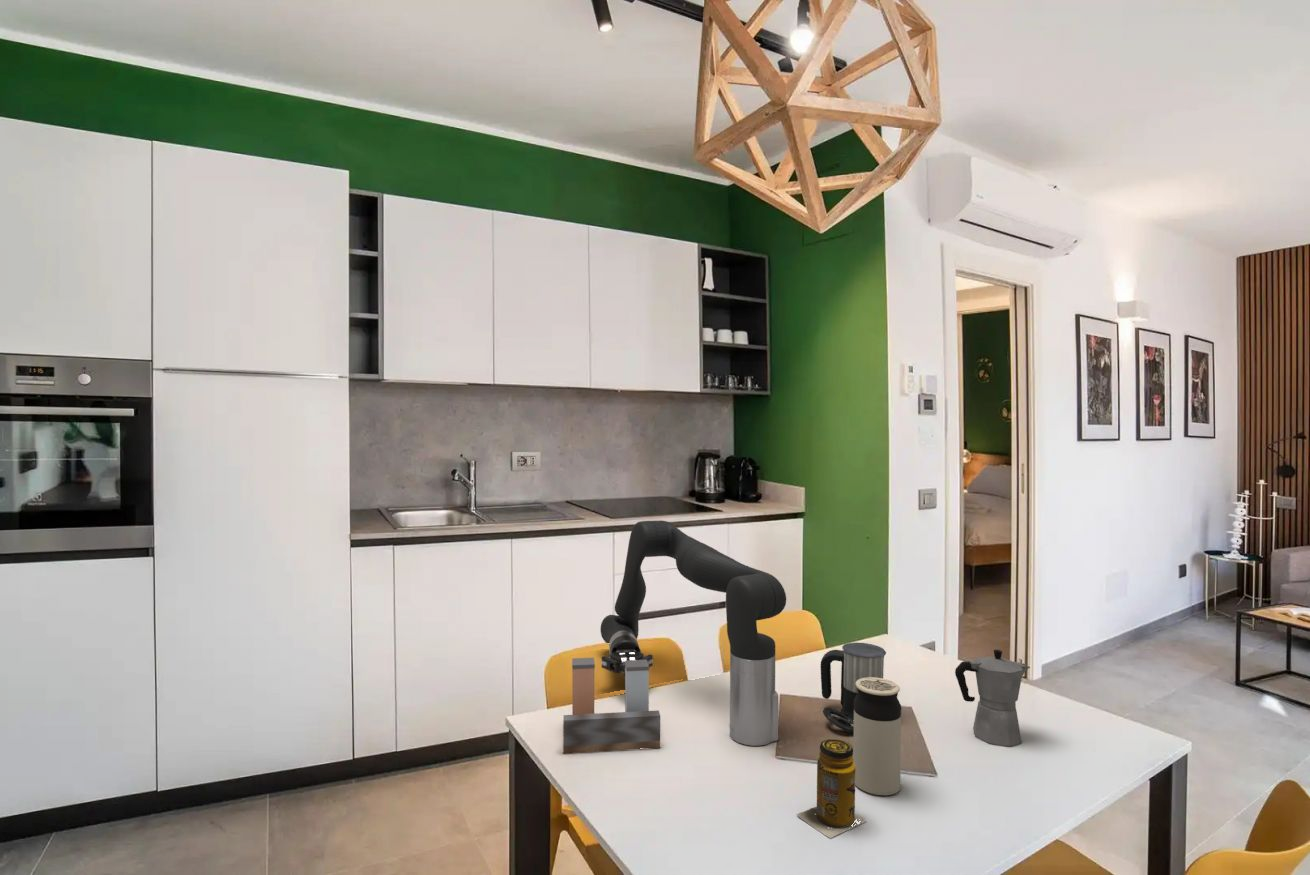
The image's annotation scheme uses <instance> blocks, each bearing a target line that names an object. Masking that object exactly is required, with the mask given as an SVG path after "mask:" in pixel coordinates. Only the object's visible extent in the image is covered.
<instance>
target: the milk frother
mask: <svg viewBox="0 0 1310 875" xmlns="http://www.w3.org/2000/svg"><path fill="white" fill-rule="evenodd" d="M886 654H887V651H886V650H885V649H884V647H881V646H879V645H876V644H872V643H865V642H848V643H844V644H843V645H842V650H840V649H832V650H828V651H827V652H826V653H824V655H823V656H822V658H821V660H820V681H821V682H820V683H821V696H822V698H823V699H826V700H828V699H829V698H830V697H831V696H832V693H833V692H832V670H831V669H832V665H831V664H832V662H841V668H840V669H841V671H840V672H841V674H840V676H841V677H840V706H841V709H840V710H838V709H835V708H832V707H824V708H823V710H822V714H823V715H824V717H825V718H826V719H827V720H828V722H830V723H831V724H832V725H833V726H835V727H836V728H838V729H841V730H843V733H846V732H848V733H854V721H853V720H854V699H855V697H856V695H857V694H858V689H857V687H856V684H855V683H856V681H857V680H859V679H861V678H866V677H876V678H883V679H884V669H885V668H884V666H885V664H884V663H885V656H886Z"/></svg>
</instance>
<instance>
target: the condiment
mask: <svg viewBox="0 0 1310 875" xmlns="http://www.w3.org/2000/svg"><path fill="white" fill-rule="evenodd" d="M853 751H854V747H853V746H852V745H851V744H850V742H847V741H845V740H841V739H838V738H828V739H824V740H822V741H821V742H820V744H819V757H818V759H817V762H816V764H817V765H816V768H817V769H816V806H814V807H811V808H808V809H806V810H804V811H801V812H799V813H797V814H796V816H798V817H799V818H800V819H801V820H803V822H805V823H806V824H808V825H809V826H811V827H812V828H814V830H817V831H818V832H820V833H821V834H822V835H825V836H826V837H827V838H829V839H832V838H834V837H836V836H838V835H840V834H843V833H844V832H847V831H849V830H852V829H853V828H855V826H856V827H857V825H858V824H857V823H856V822H855V823H854V821H855V820H856V819H857V821H858V822H859V821H861V822H860V823H862V822H863V823H862V824H864V823H866V821H867V820H866V819H865V818H862V816H859V815H857V814H855V811H856V785H855V764H854V762H853ZM859 819H860V820H859ZM853 823H854V824H853ZM852 824H853V827H852V826H851V825H852ZM855 824H856V825H855ZM854 825H855V826H854ZM858 826H859V825H858ZM828 827H829V828H828ZM849 828H850V829H849Z"/></svg>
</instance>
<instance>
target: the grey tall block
mask: <svg viewBox="0 0 1310 875" xmlns="http://www.w3.org/2000/svg"><path fill="white" fill-rule="evenodd" d="M649 671H650V667H649V665H648V662H647V660H625V677H624V679H625V680H624V687H625V689H624V693H625V694H624V695H625V696H624V698H625V699H624V701H625V702H624V706H625V707H624V712H637V711H650V709H649V708H650V707H649V706H650V701H649V696H650V694H649V693H650V691H649V690H650V689H649V688H650V686H649V684H650V683H649V682H650V677H649V676H650V672H649Z"/></svg>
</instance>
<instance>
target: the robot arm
mask: <svg viewBox="0 0 1310 875" xmlns="http://www.w3.org/2000/svg"><path fill="white" fill-rule="evenodd" d="M651 557H652V558H653V557H669V558H672V559H674V560H675V566H676V569H677V570H678V572H679V574H680V575H681V576H682V577H683V578H685V579H686V580H688V581H690V582H691V583H693V584H694V585H696V586H697V587H700V588H703V589H706V590H709V591H715V592H720V593H725V611H726V613H725V614H726V633H727V639H728V642H729V649H730V650H729V657H730V659H729V736H730V738H731V739H732V740H733V741H735V742H737V743H739V744H741V745H746V746H754V747H755V746H756V747H757V746H765V745H768V744H771V743H772V742H778V741H779V693H778V692H777V691H776V641H775V640H774V639H773V638H772V637H771V636H769V635H767V634H764V633H760V632H758V626H757V625H758V624H757V621H762V620H766V619H771V618H774V617H777V616H778V615H780V614H781V613H782V612H783V610H784V609H785V607H786V604H787V595H786V594H787V593H786V590H785V588H784V586H783V584H782V583H781V582H780V581H779V580H778V578H776V577H775V576H774V575H773V574H771V573H769V572H765V571H763V570H760V569H756V568H754V567H751V566H749V565H745V564H743V563H742V562H739V561H738V560H736V559H734V558H732V557H731V556H728V555H726V554H724V553H722V552H720V551H718V550H717V549H715V548H714V547H711V546H709V545H708V544H706V543H703V542H702V541H700V540H697V539H695V538H693V537H692V536H689V535H687V534H686V533H685V532H683V531H682V530H680V529H679V528H678V527H677V526H675V525H674V524H673V523H671V522H669V521H666V520H642V521H638V522H636V523H635V524H634V526H633V527H632V529H631V532H630V536H629V540H628V547H627V553H626V559H625V566H624V573H623V578H622V583H621V586H620V589H619V592H618V595H617V596H616V597H617V598H616V601H615V604H614V611H615V613H616V614H609V615H606V616H605V617H604V618H603V619H602V621H601V624H600V627H599V628H600V637H601V638H602V639H603V641H604V642H605V643H606V644H607V643H610V644H609V645H608V649H609V650H608V651H609V655H608V656H605V655H604V656H601V668H602V669H604V670H606V671H609V672H611V673H615V674H619V673H622V675H623V677H624V678H625V660H647V662H648V665H649V668H651V667H652V666H653V663H654V662H653V661H654V660H653V654H647V655H644V654H643V652H641V649H640V645H639V643H638V637H639V619H640V618H639V617H640V612H641V610H642V607H643V604H644V601H645V598H646V594H647V585H646V582H645V578H644V576H643V573H642V569H641V567H642V564H643V562H644V560H645V558H651ZM777 740H778V741H777Z"/></svg>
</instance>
